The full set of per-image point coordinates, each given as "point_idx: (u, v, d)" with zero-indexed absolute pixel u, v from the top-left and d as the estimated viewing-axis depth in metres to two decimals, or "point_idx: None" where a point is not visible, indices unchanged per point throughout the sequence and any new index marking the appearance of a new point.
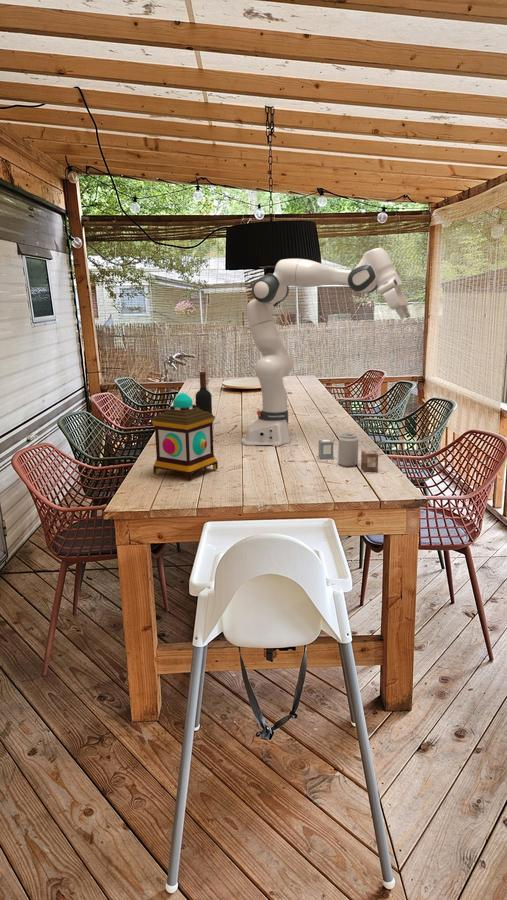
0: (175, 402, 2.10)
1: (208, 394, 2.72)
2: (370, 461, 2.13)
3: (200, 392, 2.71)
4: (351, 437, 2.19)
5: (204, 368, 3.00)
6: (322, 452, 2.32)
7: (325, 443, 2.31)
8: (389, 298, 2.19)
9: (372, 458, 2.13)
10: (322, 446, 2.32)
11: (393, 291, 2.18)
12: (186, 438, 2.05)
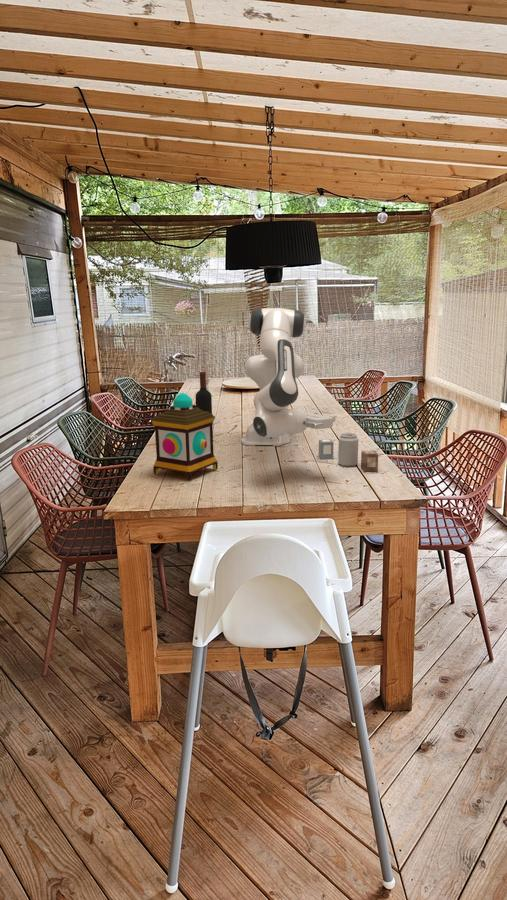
0: (175, 402, 2.10)
1: (208, 394, 2.72)
2: (370, 461, 2.13)
3: (200, 392, 2.71)
4: (351, 437, 2.19)
5: (204, 368, 3.00)
6: (322, 452, 2.32)
7: (325, 443, 2.31)
8: None
9: (372, 458, 2.13)
10: (322, 446, 2.32)
11: None
12: (186, 438, 2.05)
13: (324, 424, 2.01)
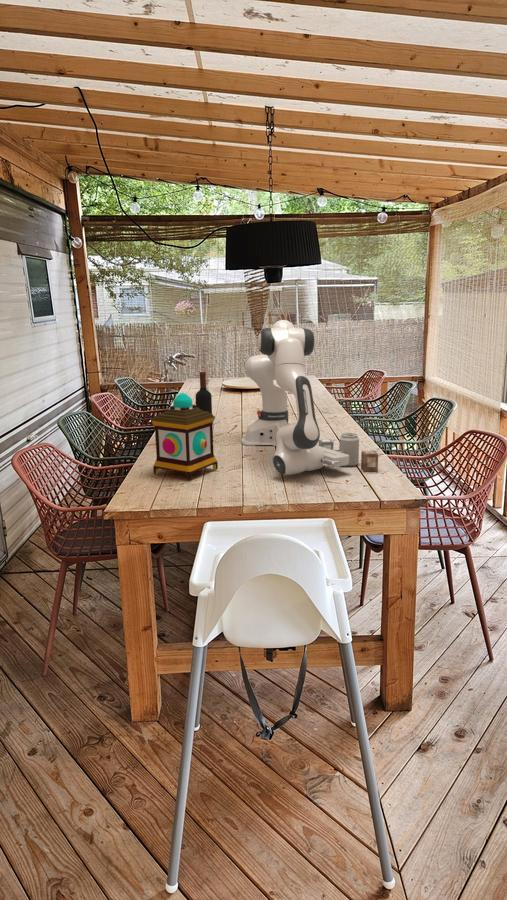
0: (175, 402, 2.10)
1: (208, 394, 2.72)
2: (370, 461, 2.13)
3: (200, 392, 2.71)
4: (352, 437, 2.19)
5: (204, 368, 3.00)
6: None
7: (325, 443, 2.31)
8: None
9: (372, 458, 2.13)
10: (322, 446, 2.32)
11: None
12: (186, 438, 2.05)
13: (341, 462, 2.09)
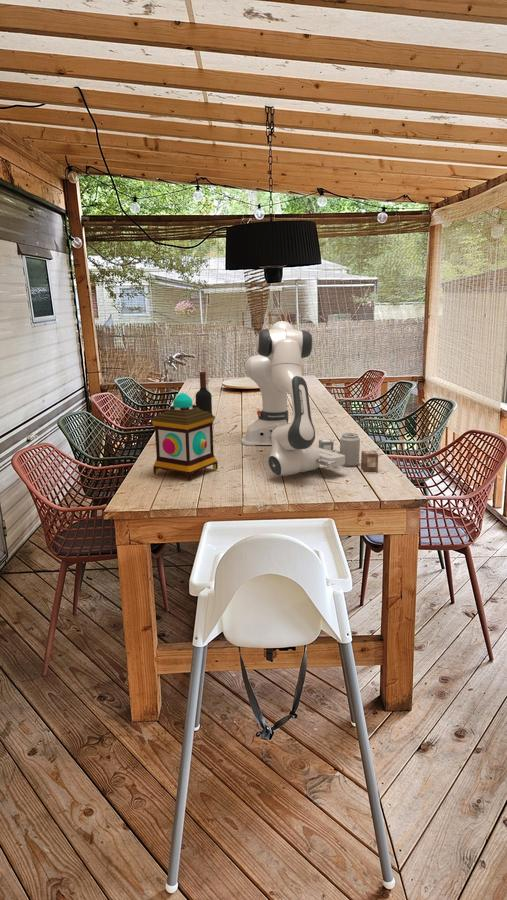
0: (175, 402, 2.10)
1: (208, 394, 2.72)
2: (370, 461, 2.13)
3: (200, 392, 2.71)
4: (353, 437, 2.20)
5: (204, 368, 3.00)
6: None
7: (325, 443, 2.31)
8: None
9: (372, 458, 2.13)
10: (322, 446, 2.32)
11: None
12: (186, 438, 2.05)
13: (337, 462, 2.08)
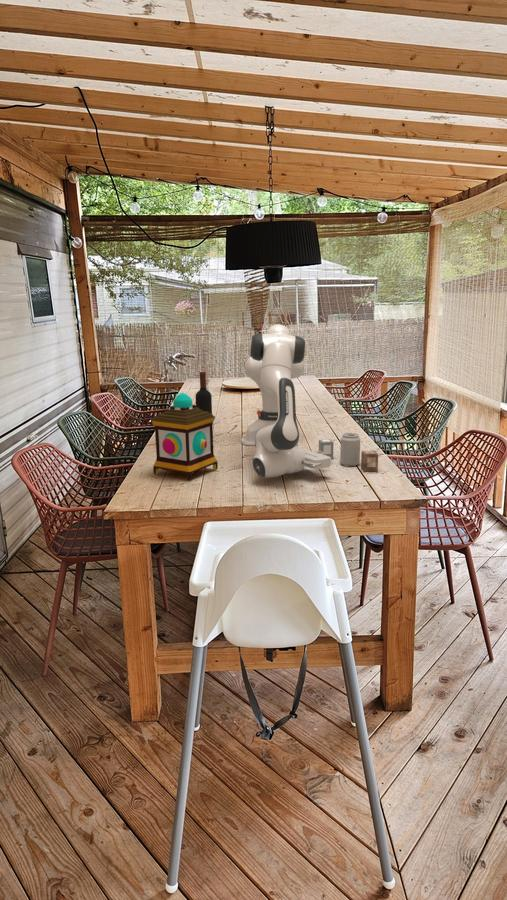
0: (175, 402, 2.10)
1: (208, 394, 2.72)
2: (370, 461, 2.13)
3: (200, 392, 2.71)
4: (353, 437, 2.20)
5: (204, 368, 3.00)
6: None
7: (325, 443, 2.31)
8: None
9: (372, 458, 2.13)
10: (322, 446, 2.32)
11: None
12: (186, 438, 2.05)
13: (322, 464, 2.05)
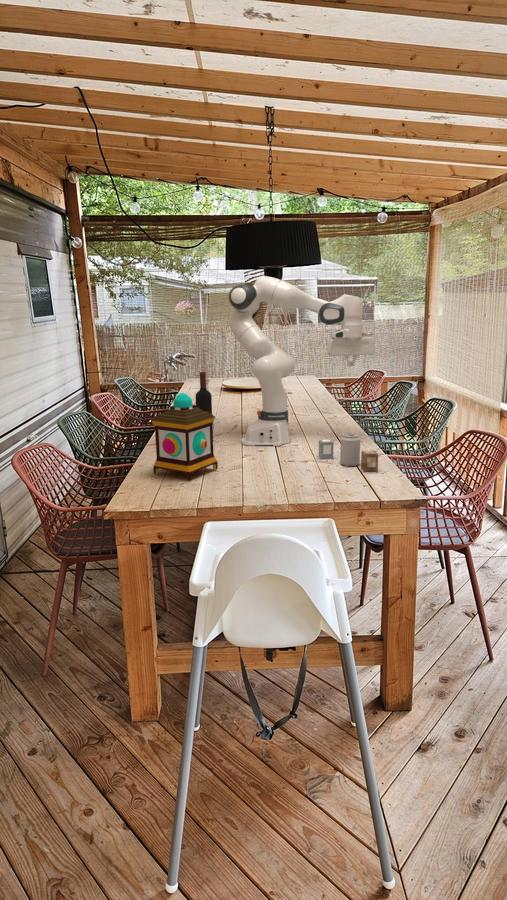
0: (175, 402, 2.10)
1: (208, 394, 2.72)
2: (370, 461, 2.13)
3: (200, 392, 2.71)
4: (353, 437, 2.20)
5: (204, 368, 3.00)
6: (322, 452, 2.32)
7: (325, 443, 2.31)
8: (328, 345, 2.47)
9: (372, 458, 2.13)
10: (322, 446, 2.32)
11: (330, 342, 2.45)
12: (186, 438, 2.05)
13: None
